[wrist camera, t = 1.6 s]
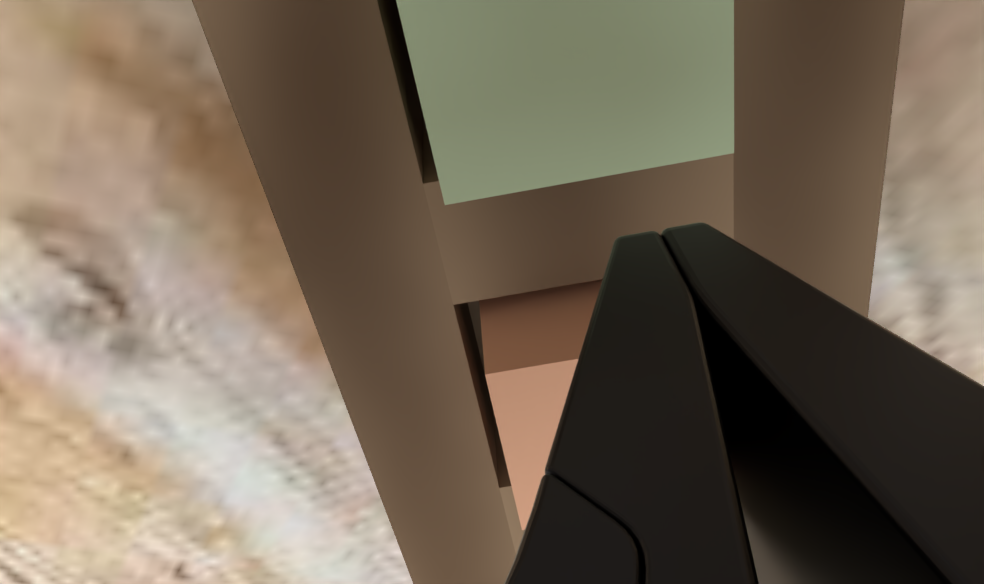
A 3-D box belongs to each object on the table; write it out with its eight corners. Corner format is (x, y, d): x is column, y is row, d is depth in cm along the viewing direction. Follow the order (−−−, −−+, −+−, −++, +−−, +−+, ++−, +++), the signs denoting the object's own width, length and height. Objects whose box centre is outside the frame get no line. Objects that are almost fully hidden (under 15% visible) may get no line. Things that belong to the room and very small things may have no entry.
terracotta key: (696, 247, 19) (734, 332, 17) (701, 405, 22) (734, 496, 20) (477, 286, 20) (485, 374, 17) (511, 437, 23) (522, 529, 20)
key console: (841, -433, 15) (958, -457, 11) (785, 560, 31) (827, 664, 28) (160, -286, 15) (89, -271, 12) (460, 611, 32) (464, 718, 29)
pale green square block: (680, -204, 14) (733, -174, 12) (690, 82, 17) (734, 152, 15) (381, -143, 14) (371, -102, 12) (442, 128, 17) (444, 205, 15)
